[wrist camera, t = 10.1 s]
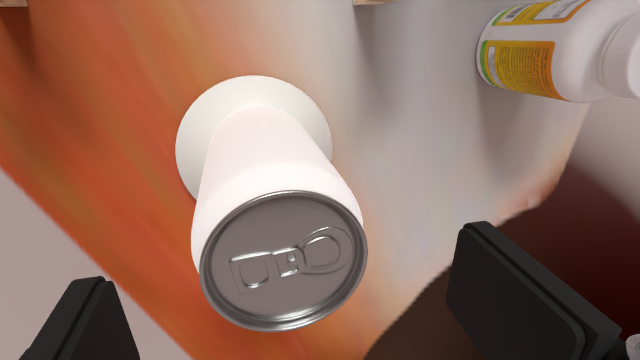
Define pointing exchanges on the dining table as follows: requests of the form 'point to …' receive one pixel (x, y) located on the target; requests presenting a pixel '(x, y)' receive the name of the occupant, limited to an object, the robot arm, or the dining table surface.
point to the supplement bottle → (564, 49)
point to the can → (274, 225)
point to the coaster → (230, 99)
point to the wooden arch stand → (20, 1)
